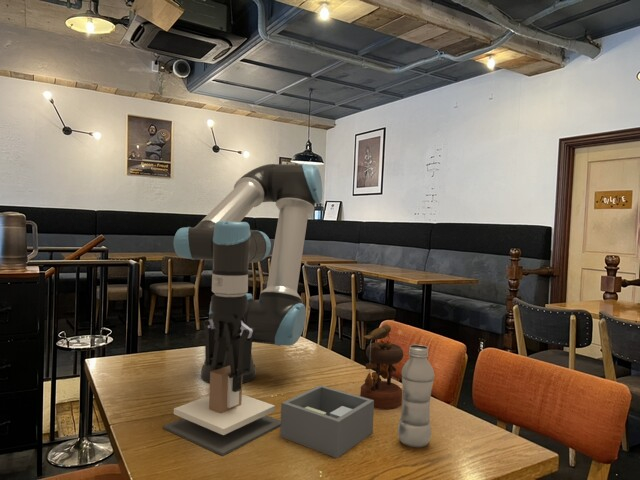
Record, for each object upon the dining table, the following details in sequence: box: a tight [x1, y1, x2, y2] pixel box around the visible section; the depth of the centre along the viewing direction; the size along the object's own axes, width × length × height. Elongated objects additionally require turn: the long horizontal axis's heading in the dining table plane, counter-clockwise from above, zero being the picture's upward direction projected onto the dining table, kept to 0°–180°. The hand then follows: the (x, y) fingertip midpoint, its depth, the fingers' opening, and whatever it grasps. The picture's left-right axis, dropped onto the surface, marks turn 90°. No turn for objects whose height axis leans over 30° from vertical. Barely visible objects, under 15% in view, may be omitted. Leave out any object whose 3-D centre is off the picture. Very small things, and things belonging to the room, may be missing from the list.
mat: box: [162, 415, 281, 457], centre depth 98 cm, size 18×18×1 cm
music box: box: [359, 323, 404, 410], centre depth 117 cm, size 15×11×20 cm
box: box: [279, 384, 375, 459], centre depth 96 cm, size 14×14×7 cm
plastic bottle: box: [397, 344, 435, 448], centre depth 94 cm, size 6×7×20 cm
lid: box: [173, 366, 276, 435], centre depth 98 cm, size 15×15×10 cm
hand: (225, 402), depth 98 cm, fingers closed on lid, 3 cm apart
